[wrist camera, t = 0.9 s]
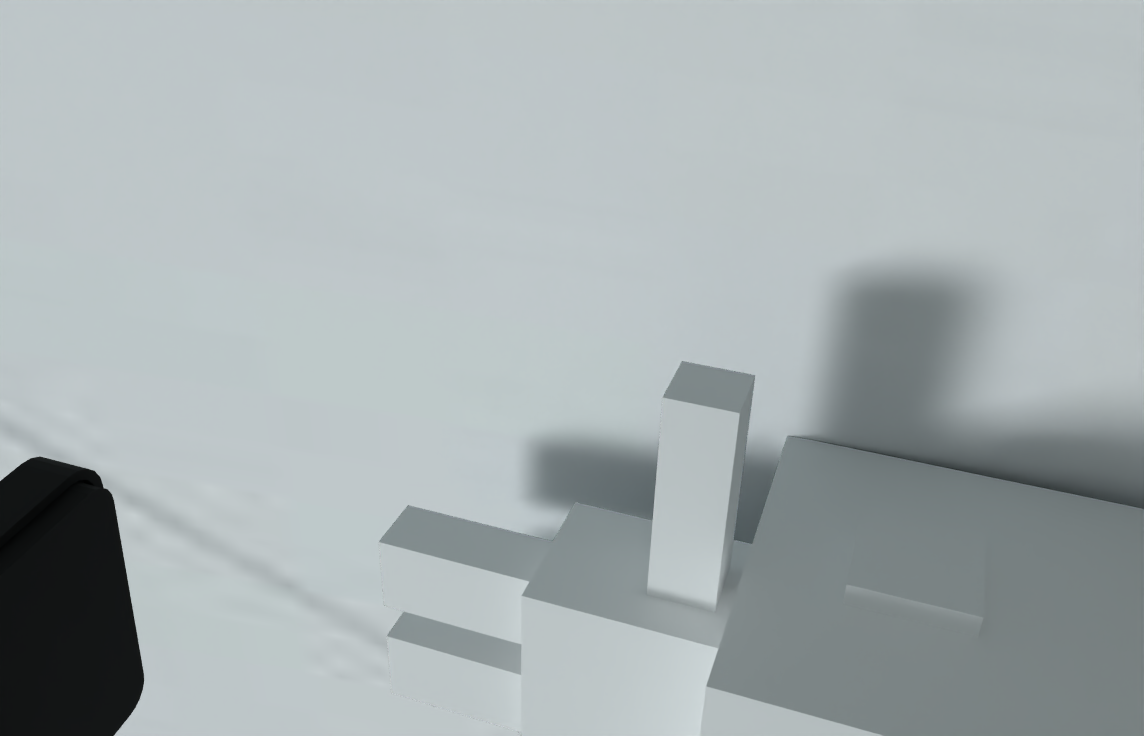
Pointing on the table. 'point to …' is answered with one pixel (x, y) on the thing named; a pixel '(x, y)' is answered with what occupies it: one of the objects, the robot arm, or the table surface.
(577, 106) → the table surface
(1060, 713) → the blocky voxel creature
